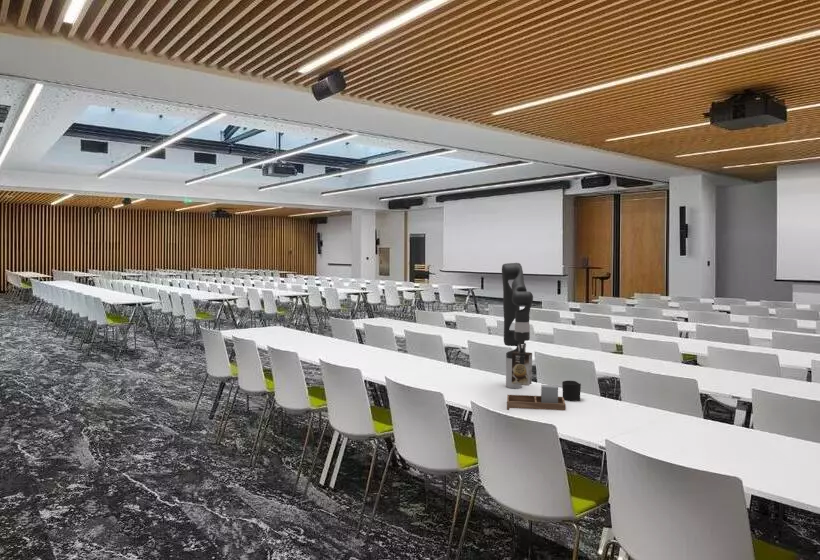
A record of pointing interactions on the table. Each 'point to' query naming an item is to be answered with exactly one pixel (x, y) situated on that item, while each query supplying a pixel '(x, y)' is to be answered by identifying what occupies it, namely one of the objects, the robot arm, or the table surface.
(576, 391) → the pen holder
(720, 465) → the table surface
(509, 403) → the caddy
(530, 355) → the coffee box
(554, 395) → the tea box
